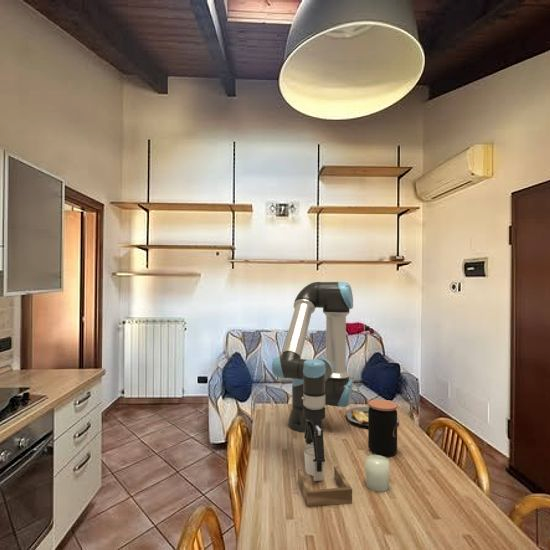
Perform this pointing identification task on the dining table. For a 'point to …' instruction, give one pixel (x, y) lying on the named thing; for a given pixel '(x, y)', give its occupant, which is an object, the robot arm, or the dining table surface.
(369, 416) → the coffee jar
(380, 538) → the dining table surface
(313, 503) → the bay
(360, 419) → the food plate
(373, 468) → the cream rounded cylinder
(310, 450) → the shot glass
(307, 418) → the robot arm
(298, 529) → the dining table surface
